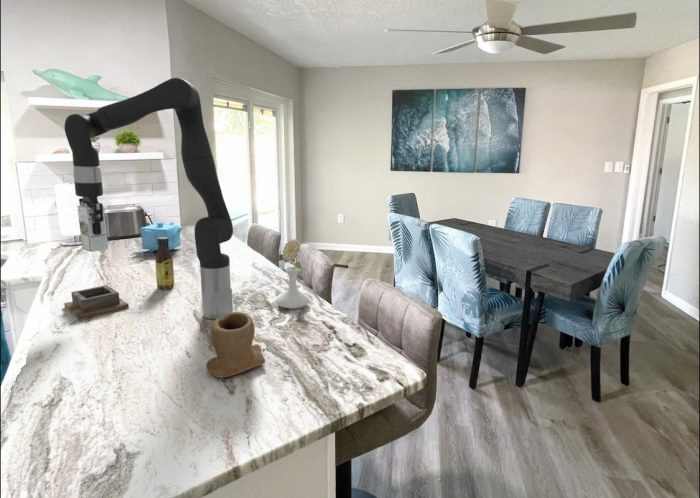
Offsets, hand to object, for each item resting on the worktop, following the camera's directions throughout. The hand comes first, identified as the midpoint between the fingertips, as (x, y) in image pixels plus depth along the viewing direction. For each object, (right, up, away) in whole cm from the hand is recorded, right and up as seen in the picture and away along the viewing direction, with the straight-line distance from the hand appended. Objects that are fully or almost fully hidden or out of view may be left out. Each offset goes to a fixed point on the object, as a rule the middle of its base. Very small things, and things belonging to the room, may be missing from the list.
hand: (93, 232), depth 140 cm
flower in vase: (+63, -26, +13) cm, 70 cm away
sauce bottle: (+11, -21, +29) cm, 37 cm away
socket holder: (-3, -25, +7) cm, 27 cm away
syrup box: (0, -6, +1) cm, 6 cm away
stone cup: (+55, -36, -29) cm, 72 cm away
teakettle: (-12, -6, +82) cm, 83 cm away
